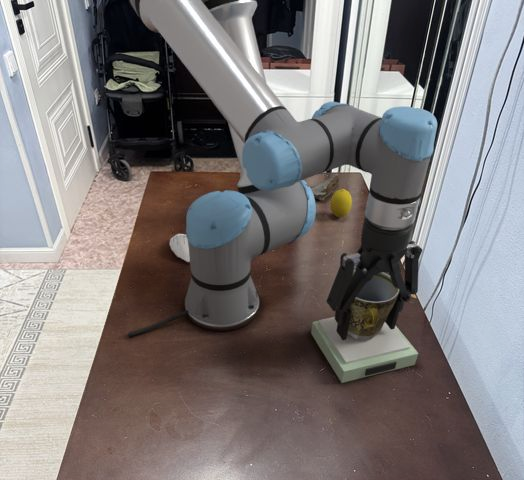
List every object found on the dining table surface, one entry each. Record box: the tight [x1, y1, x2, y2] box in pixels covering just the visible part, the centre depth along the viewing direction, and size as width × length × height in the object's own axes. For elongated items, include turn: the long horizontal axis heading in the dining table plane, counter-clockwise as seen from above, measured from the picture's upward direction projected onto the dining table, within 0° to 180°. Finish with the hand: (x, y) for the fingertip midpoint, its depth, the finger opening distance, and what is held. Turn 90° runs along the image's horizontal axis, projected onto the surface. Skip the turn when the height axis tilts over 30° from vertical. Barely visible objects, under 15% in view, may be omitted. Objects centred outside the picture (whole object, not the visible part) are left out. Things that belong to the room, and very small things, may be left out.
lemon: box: [329, 188, 353, 219], centre depth 129 cm, size 6×6×8 cm
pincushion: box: [169, 230, 190, 263], centre depth 116 cm, size 12×6×6 cm, turn 19°
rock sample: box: [309, 173, 341, 201], centre depth 139 cm, size 10×8×9 cm
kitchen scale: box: [310, 316, 419, 384], centre depth 93 cm, size 15×14×4 cm
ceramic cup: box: [348, 268, 400, 340], centre depth 88 cm, size 13×10×10 cm
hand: (365, 329), depth 91 cm, fingers closed on ceramic cup, 9 cm apart
